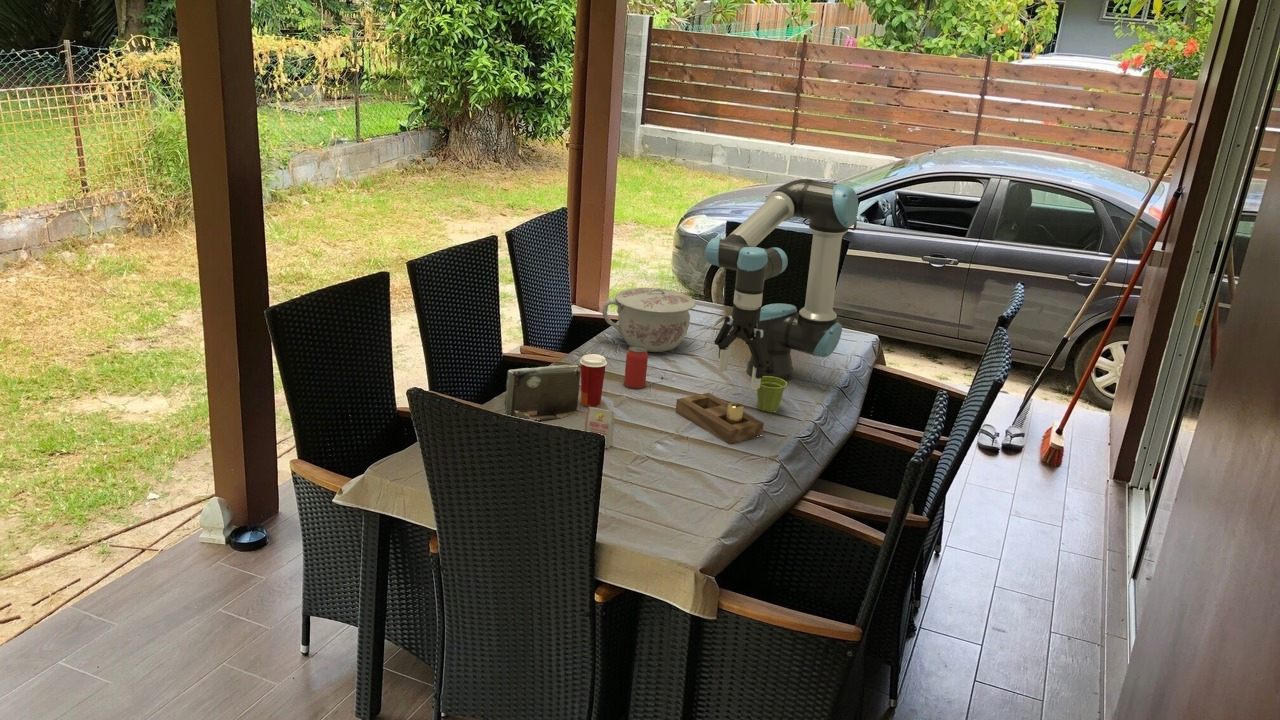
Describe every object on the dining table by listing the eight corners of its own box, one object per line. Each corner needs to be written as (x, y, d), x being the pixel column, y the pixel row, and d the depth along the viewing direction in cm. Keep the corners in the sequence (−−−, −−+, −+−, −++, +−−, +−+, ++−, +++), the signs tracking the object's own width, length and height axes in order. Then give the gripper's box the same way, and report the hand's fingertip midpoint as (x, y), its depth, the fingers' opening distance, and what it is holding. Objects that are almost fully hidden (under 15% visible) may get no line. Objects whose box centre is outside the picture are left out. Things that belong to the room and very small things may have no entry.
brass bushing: (733, 427, 274) (736, 400, 271) (743, 433, 271) (747, 406, 268) (721, 430, 271) (724, 403, 268) (731, 436, 268) (735, 409, 265)
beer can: (642, 390, 294) (646, 353, 290) (621, 387, 295) (624, 350, 291) (647, 383, 300) (650, 346, 296) (626, 380, 301) (629, 343, 297)
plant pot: (763, 416, 283) (767, 389, 280) (745, 404, 290) (749, 377, 287) (789, 413, 287) (793, 385, 284) (771, 401, 295) (775, 374, 292)
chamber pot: (705, 345, 338) (711, 288, 331) (664, 366, 316) (670, 305, 309) (638, 327, 351) (642, 271, 344) (594, 345, 329) (598, 286, 322)
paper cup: (607, 401, 284) (611, 356, 279) (598, 410, 277) (601, 364, 273) (583, 396, 286) (585, 351, 282) (572, 404, 280) (575, 359, 275)
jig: (707, 405, 288) (708, 392, 286) (762, 436, 270) (763, 422, 268) (675, 411, 281) (676, 399, 279) (729, 444, 263) (730, 430, 261)
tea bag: (588, 438, 259) (590, 404, 256) (612, 443, 257) (615, 408, 254) (583, 444, 256) (586, 409, 252) (608, 448, 254) (610, 414, 251)
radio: (575, 404, 280) (578, 356, 275) (588, 416, 273) (591, 366, 268) (499, 414, 270) (500, 364, 264) (510, 426, 262) (512, 375, 257)
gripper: (706, 294, 265) (699, 366, 273) (768, 321, 247) (758, 398, 254) (727, 291, 269) (719, 362, 277) (789, 317, 251) (779, 393, 258)
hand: (738, 379), depth 266 cm, fingers open, 13 cm apart
